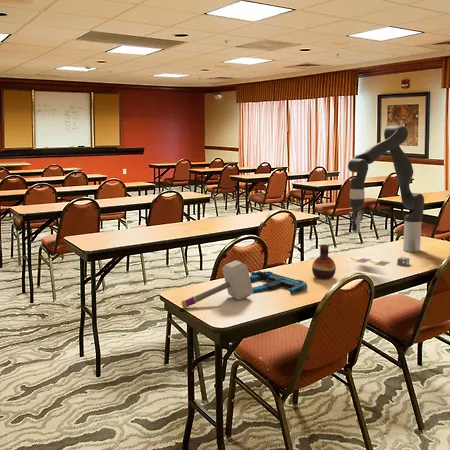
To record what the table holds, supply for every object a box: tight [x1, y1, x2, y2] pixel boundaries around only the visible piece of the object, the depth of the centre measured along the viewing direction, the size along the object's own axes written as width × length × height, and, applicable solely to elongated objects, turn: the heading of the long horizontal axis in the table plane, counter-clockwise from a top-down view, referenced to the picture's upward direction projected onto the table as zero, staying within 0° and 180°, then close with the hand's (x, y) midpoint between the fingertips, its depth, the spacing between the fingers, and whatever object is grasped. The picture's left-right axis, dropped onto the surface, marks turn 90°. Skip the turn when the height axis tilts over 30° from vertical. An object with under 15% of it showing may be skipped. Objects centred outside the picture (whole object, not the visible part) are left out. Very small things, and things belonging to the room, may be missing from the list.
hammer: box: [180, 260, 254, 309], centre depth 219 cm, size 15×8×30 cm
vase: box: [311, 244, 337, 281], centre depth 254 cm, size 11×11×15 cm
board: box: [347, 256, 391, 267], centre depth 280 cm, size 10×21×1 cm, turn 51°
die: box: [396, 256, 410, 267], centre depth 272 cm, size 5×5×5 cm
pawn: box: [351, 216, 361, 234], centre depth 281 cm, size 4×4×10 cm
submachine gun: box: [249, 270, 308, 295], centre depth 243 cm, size 34×4×25 cm
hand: (355, 229), depth 281 cm, fingers closed on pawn, 3 cm apart
